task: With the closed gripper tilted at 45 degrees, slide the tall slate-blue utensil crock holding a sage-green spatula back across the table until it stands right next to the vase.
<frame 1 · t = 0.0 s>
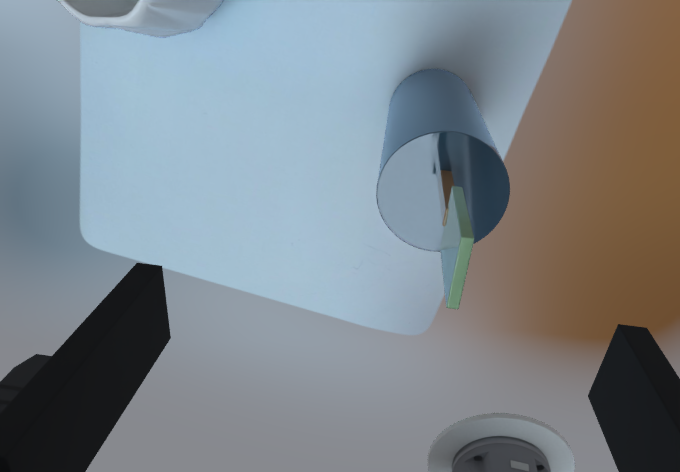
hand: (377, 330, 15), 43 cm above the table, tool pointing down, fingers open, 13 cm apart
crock: (430, 112, 54), on the table
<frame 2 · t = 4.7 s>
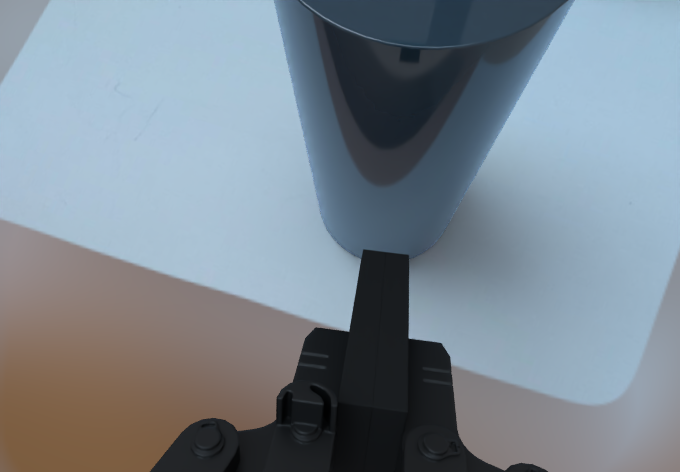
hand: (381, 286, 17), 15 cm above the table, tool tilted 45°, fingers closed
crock: (385, 198, 34), on the table
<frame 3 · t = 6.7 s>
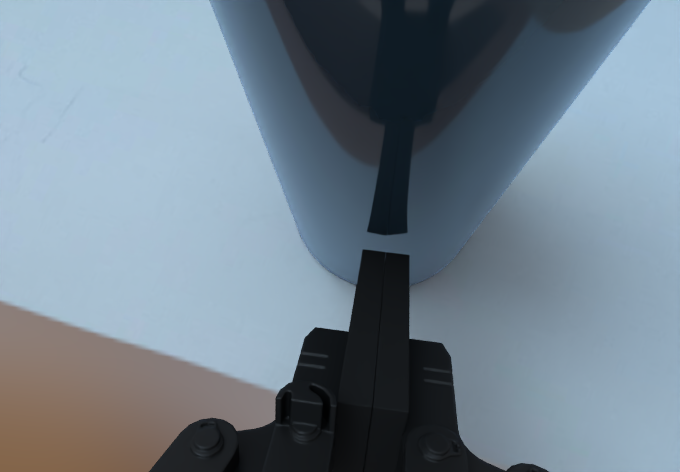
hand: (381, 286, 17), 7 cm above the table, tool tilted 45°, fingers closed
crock: (383, 200, 25), on the table, touching gripper
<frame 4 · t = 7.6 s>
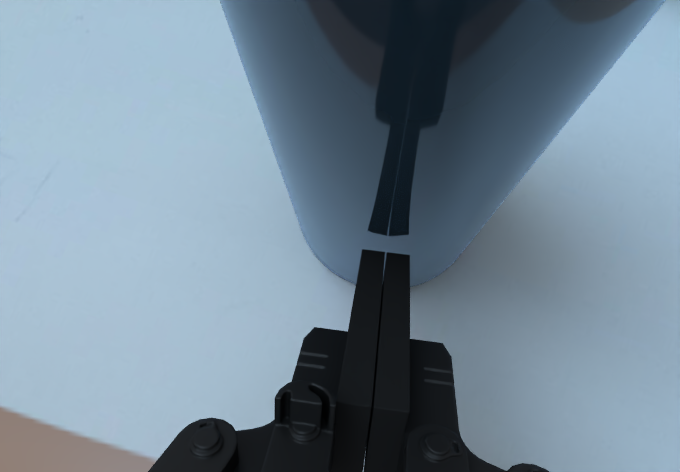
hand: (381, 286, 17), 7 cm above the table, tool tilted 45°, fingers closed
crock: (386, 201, 25), on the table, touching gripper
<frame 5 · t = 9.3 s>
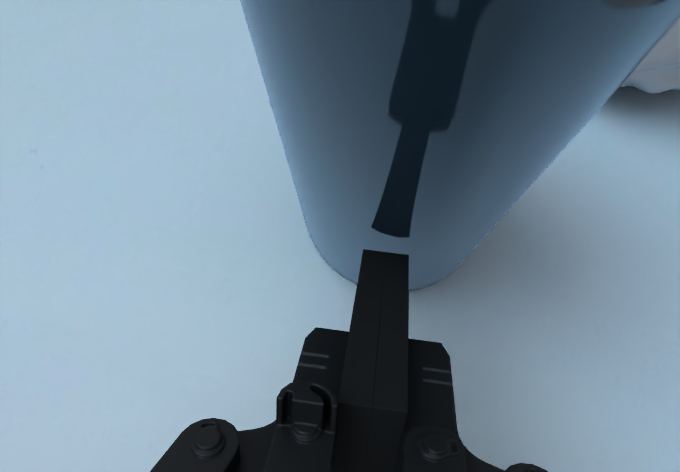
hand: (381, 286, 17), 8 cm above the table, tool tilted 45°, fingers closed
vase: (623, 11, 29), on the table
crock: (392, 204, 26), on the table, touching gripper
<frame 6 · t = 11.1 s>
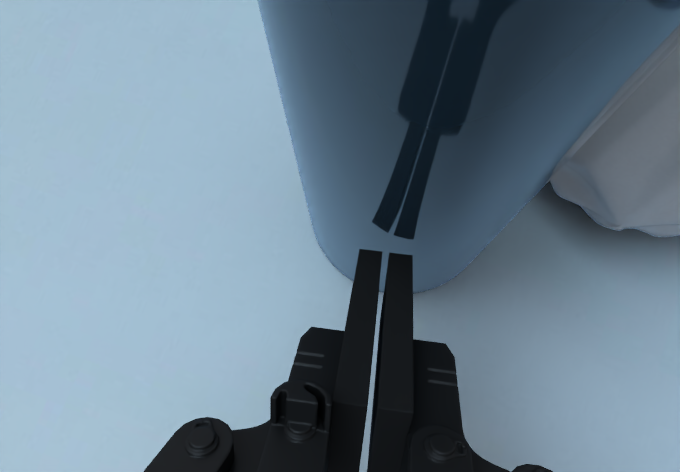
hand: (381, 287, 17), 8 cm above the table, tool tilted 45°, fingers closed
vase: (625, 131, 27), on the table
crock: (398, 207, 26), on the table, touching gripper
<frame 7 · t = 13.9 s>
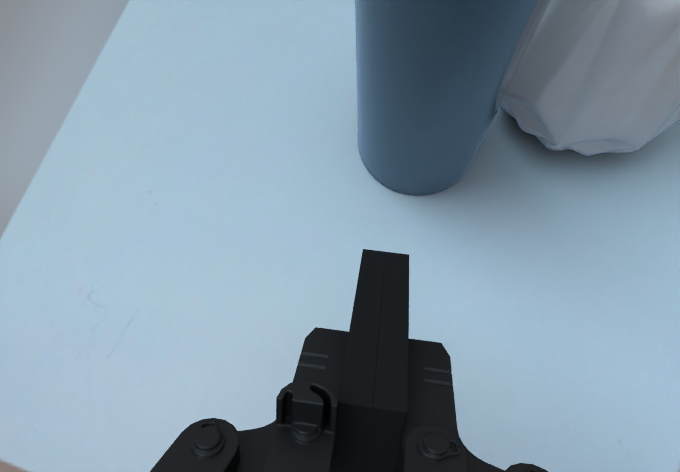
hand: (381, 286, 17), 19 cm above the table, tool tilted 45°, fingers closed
vase: (571, 91, 40), on the table
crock: (416, 140, 39), on the table
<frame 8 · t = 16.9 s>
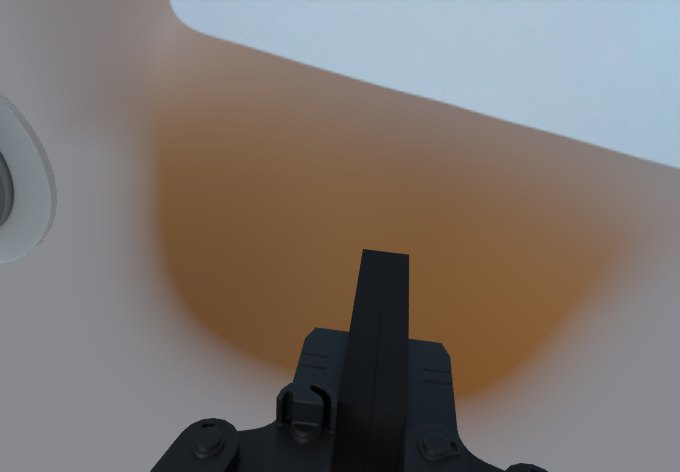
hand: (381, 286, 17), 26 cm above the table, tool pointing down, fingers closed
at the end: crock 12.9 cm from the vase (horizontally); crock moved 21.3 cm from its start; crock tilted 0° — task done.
